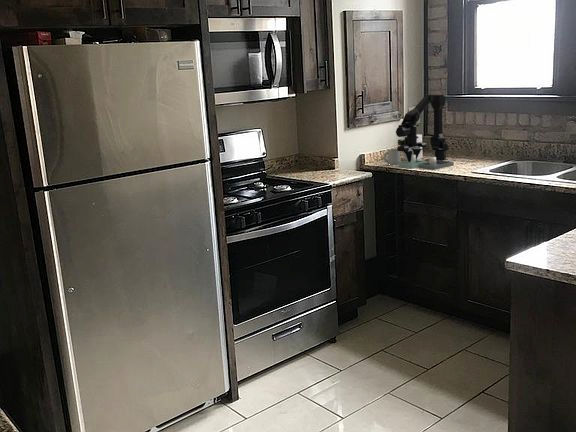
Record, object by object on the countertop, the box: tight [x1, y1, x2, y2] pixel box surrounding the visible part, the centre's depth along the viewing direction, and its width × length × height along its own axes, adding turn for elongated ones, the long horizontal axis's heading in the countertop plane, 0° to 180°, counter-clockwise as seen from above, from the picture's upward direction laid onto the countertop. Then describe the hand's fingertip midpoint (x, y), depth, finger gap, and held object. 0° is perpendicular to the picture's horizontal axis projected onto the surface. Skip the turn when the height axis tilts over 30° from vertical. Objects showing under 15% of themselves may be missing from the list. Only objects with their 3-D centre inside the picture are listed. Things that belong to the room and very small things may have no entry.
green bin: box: [398, 159, 427, 169], centre depth 368 cm, size 11×11×3 cm
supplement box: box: [402, 134, 424, 161], centre depth 393 cm, size 9×9×15 cm
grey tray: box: [418, 160, 454, 171], centre depth 362 cm, size 16×12×2 cm
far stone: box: [428, 156, 436, 166], centre depth 363 cm, size 4×4×5 cm
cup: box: [383, 148, 401, 166], centre depth 379 cm, size 7×10×9 cm
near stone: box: [409, 154, 416, 164], centre depth 367 cm, size 4×4×5 cm
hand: (412, 161), depth 368 cm, fingers closed on near stone, 4 cm apart
